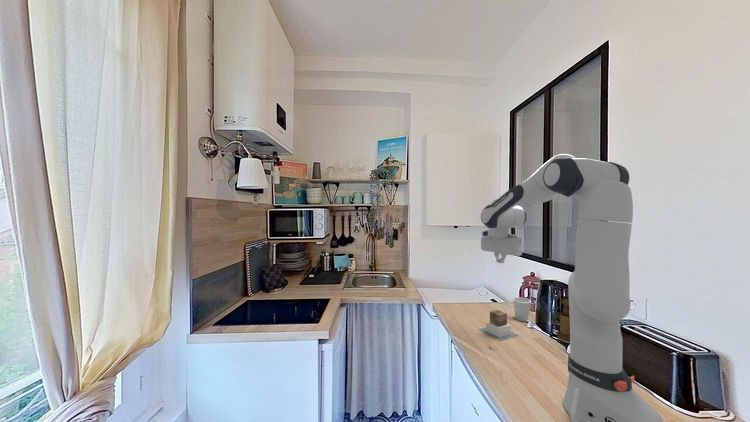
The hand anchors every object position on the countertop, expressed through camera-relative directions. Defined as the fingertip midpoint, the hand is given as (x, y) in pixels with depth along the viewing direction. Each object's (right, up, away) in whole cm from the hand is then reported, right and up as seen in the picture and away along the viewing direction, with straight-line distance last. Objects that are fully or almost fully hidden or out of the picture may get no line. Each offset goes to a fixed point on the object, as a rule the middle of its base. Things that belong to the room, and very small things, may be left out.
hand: (500, 262), depth 126 cm
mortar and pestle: (+23, -32, -11) cm, 40 cm away
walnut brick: (-4, -26, -6) cm, 27 cm away
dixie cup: (+16, -32, +11) cm, 37 cm away
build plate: (-4, -31, -6) cm, 32 cm away
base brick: (-4, -30, -6) cm, 31 cm away
